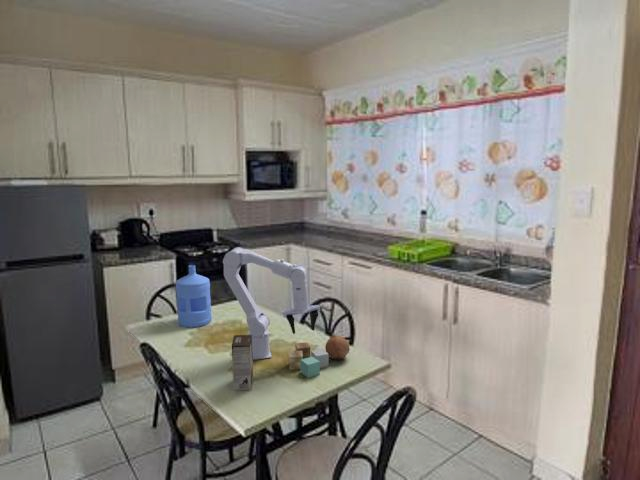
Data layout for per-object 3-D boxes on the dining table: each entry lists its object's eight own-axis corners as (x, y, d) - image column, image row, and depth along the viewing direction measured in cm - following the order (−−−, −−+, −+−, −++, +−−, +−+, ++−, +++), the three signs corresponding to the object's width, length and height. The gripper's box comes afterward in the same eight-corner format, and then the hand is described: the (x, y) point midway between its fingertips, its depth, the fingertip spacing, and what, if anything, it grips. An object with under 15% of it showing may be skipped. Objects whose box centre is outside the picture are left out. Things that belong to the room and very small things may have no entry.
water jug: (186, 316, 220) (183, 261, 216) (216, 317, 218) (214, 262, 213) (172, 327, 205) (168, 269, 200) (204, 329, 203) (201, 270, 198)
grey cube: (316, 368, 163) (316, 356, 162) (311, 363, 167) (311, 351, 166) (328, 366, 165) (328, 353, 164) (323, 361, 169) (323, 348, 168)
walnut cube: (297, 360, 169) (297, 348, 169) (295, 355, 174) (295, 343, 173) (310, 359, 171) (310, 347, 170) (307, 354, 175) (307, 342, 175)
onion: (330, 362, 175) (324, 337, 177) (353, 356, 174) (346, 331, 176) (327, 364, 165) (320, 337, 168) (351, 357, 165) (344, 331, 167)
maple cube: (289, 369, 162) (289, 356, 161) (289, 363, 167) (288, 351, 166) (302, 369, 163) (302, 356, 162) (302, 363, 167) (302, 350, 167)
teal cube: (308, 378, 156) (307, 364, 155) (300, 372, 160) (300, 359, 159) (319, 374, 158) (319, 361, 157) (312, 369, 162) (312, 356, 162)
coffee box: (235, 377, 156) (233, 334, 153) (253, 377, 156) (252, 334, 154) (232, 390, 147) (230, 345, 144) (252, 389, 147) (250, 344, 145)
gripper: (284, 303, 163) (287, 338, 165) (321, 297, 167) (324, 331, 169) (280, 298, 170) (283, 331, 172) (316, 292, 174) (318, 325, 176)
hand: (303, 331), depth 171 cm, fingers open, 7 cm apart
